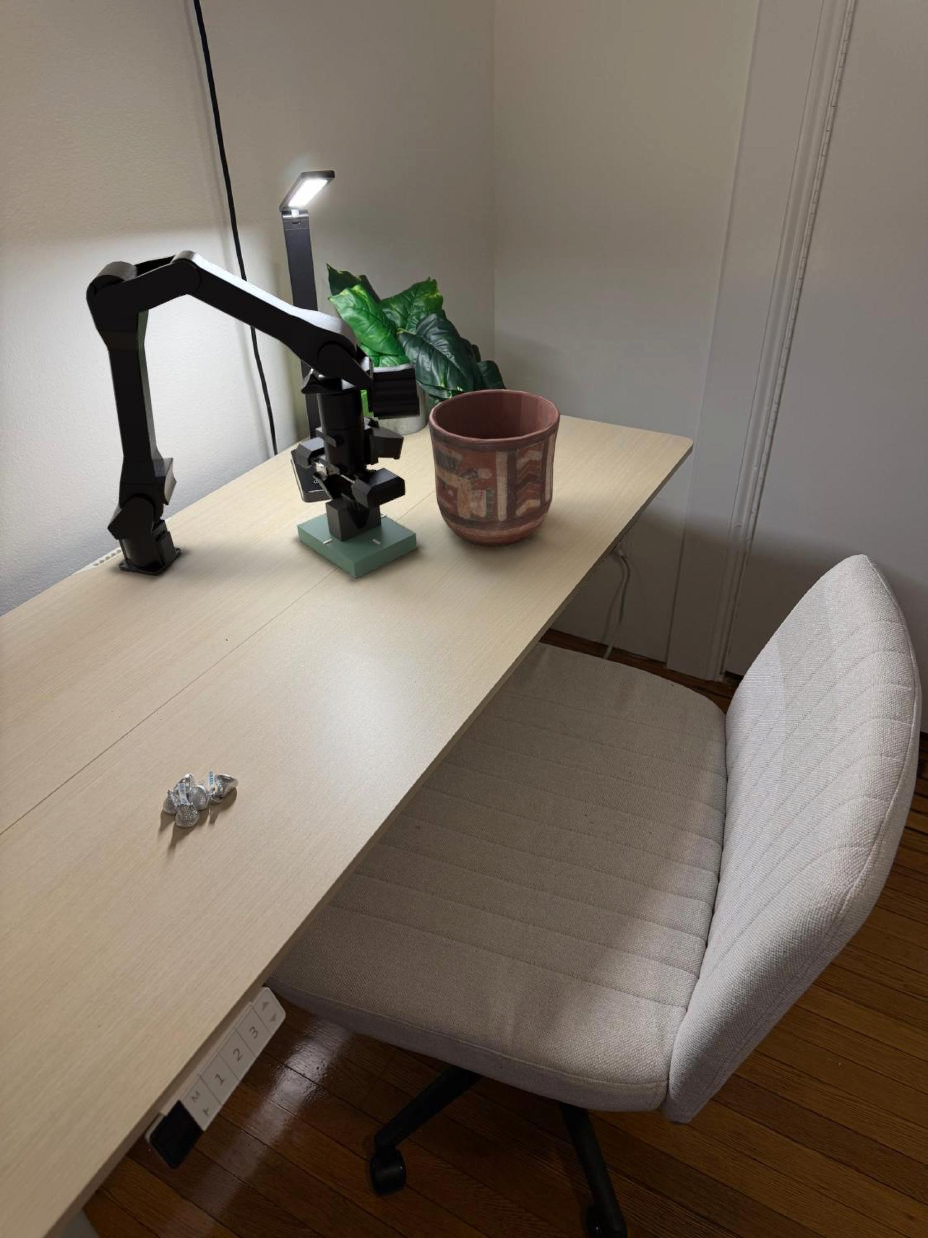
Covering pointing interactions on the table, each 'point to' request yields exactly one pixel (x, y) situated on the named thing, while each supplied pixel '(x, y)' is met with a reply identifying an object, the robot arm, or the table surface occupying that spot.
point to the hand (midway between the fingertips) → (354, 523)
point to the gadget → (347, 520)
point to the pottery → (494, 463)
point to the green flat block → (359, 544)
